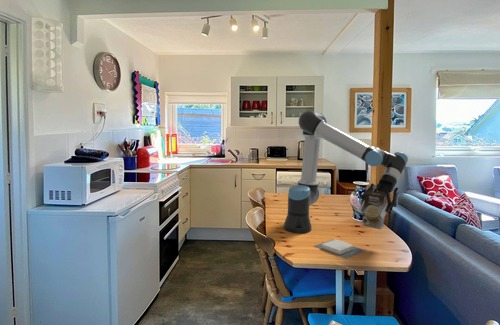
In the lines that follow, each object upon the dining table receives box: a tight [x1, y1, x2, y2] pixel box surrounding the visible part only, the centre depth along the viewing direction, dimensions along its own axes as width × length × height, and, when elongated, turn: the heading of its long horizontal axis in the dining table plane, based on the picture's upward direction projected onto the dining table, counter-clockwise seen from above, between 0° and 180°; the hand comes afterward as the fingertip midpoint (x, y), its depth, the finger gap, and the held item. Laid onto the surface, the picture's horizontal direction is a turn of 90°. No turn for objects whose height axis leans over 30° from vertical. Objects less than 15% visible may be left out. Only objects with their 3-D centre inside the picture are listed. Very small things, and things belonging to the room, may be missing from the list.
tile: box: [322, 238, 355, 255], centre depth 154 cm, size 10×2×11 cm
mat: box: [312, 239, 366, 260], centre depth 155 cm, size 18×16×1 cm
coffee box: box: [361, 191, 387, 230], centre depth 159 cm, size 9×6×16 cm
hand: (370, 214), depth 157 cm, fingers closed on coffee box, 10 cm apart
